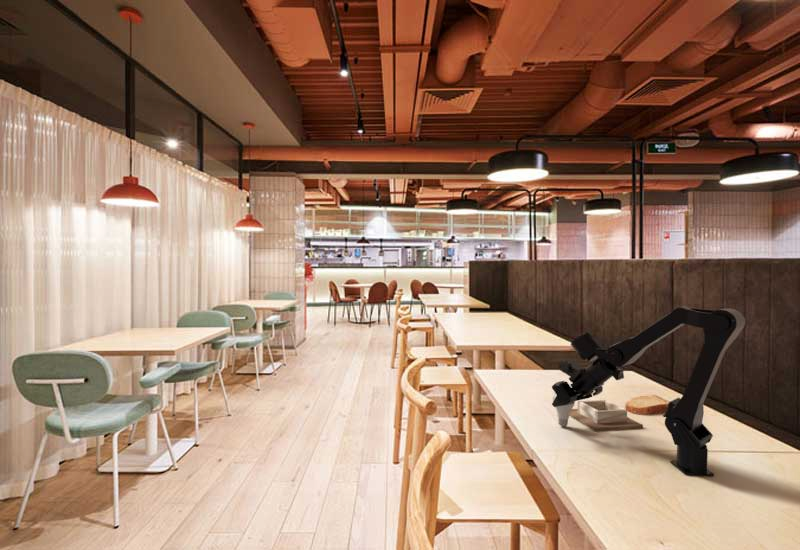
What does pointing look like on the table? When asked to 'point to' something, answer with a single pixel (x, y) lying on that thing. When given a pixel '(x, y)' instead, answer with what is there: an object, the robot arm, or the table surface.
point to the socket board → (603, 416)
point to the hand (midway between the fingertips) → (559, 403)
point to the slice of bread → (647, 405)
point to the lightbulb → (563, 413)
